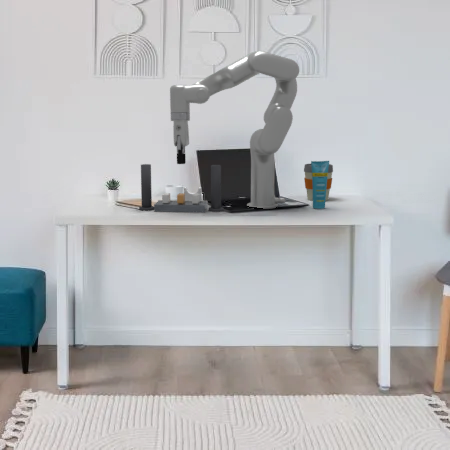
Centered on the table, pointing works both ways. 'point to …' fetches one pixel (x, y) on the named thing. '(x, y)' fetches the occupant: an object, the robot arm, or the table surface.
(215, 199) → the post
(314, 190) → the tube
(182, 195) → the block
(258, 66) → the robot arm
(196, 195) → the paddle
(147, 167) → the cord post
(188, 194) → the bracket
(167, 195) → the white rectangular block
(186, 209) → the breaker panel
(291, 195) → the table surface
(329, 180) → the reusable coffee cup
